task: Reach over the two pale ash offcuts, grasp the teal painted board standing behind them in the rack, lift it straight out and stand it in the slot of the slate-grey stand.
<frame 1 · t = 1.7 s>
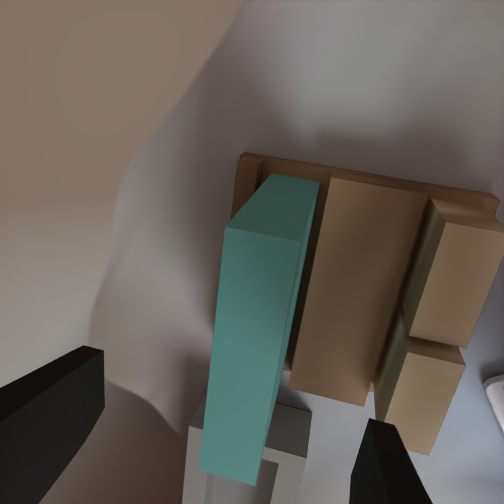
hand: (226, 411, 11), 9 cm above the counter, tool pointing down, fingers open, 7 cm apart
offcut b: (440, 255, 17), point 1 cm above the counter, touching rack
stand: (245, 477, 25), on the counter
rack: (313, 275, 19), on the counter
board: (278, 275, 19), point 1 cm above the counter, touching rack
offcut a: (407, 352, 19), point 1 cm above the counter, touching rack
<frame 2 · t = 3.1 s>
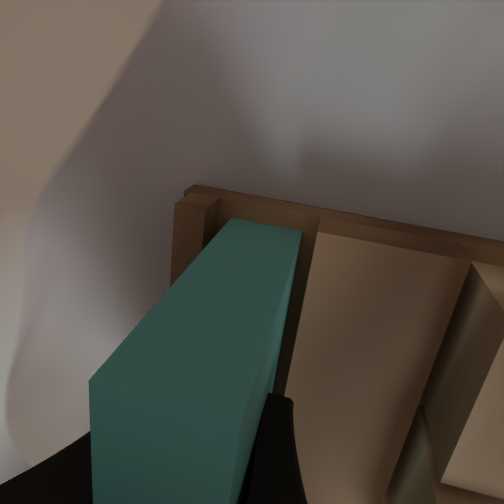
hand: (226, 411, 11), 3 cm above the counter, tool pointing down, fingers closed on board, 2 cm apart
offcut b: (482, 341, 11), point 1 cm above the counter, touching rack
rack: (296, 354, 14), on the counter
board: (246, 357, 13), point 1 cm above the counter, touching gripper, rack
offcut a: (429, 466, 13), point 1 cm above the counter, touching rack
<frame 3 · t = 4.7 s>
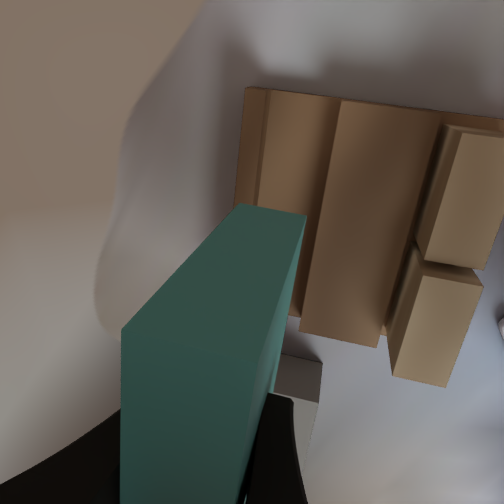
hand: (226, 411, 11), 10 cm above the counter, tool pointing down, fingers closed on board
offcut b: (453, 184, 17), point 1 cm above the counter, touching rack
stand: (255, 435, 25), on the counter
rack: (322, 215, 19), on the counter
board: (252, 338, 14), point 7 cm above the counter, touching gripper
offcut a: (420, 290, 19), point 1 cm above the counter, touching rack
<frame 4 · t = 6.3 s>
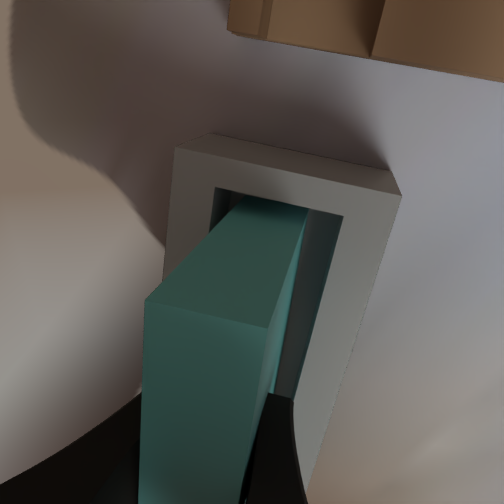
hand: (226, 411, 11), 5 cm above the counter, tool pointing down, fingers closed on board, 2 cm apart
stand: (263, 315, 16), on the counter
board: (257, 325, 15), point 1 cm above the counter, touching gripper
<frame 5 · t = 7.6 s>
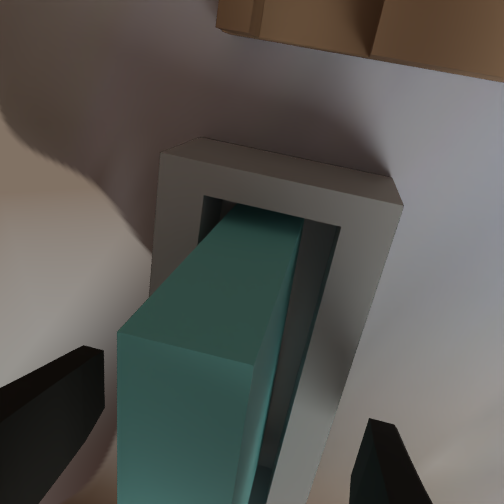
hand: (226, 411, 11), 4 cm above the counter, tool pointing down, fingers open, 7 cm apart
stand: (258, 327, 15), on the counter
board: (251, 337, 14), point 1 cm above the counter, touching stand
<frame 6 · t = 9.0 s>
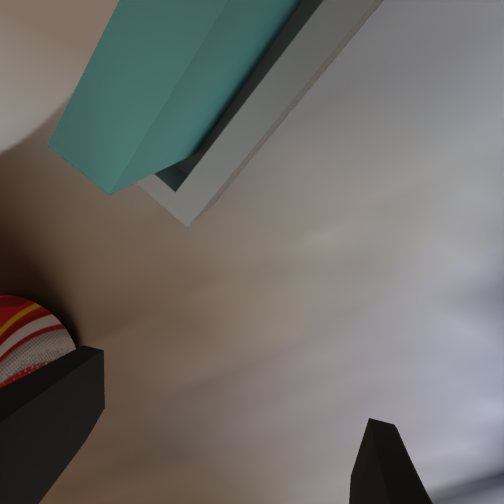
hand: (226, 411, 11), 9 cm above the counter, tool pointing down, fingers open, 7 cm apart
stand: (246, 47, 16), on the counter
soda can: (36, 338, 25), on the counter
board: (242, 39, 15), point 1 cm above the counter, touching stand
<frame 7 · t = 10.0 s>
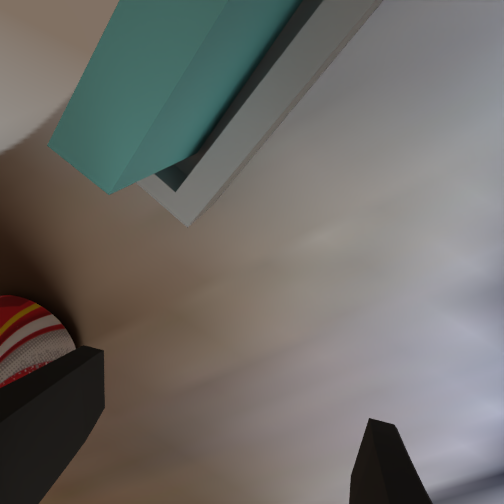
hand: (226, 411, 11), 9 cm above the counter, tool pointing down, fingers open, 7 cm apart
stand: (246, 47, 16), on the counter
soda can: (36, 338, 25), on the counter
board: (242, 39, 15), point 1 cm above the counter, touching stand
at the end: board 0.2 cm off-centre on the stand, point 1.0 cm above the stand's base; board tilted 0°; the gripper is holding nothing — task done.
